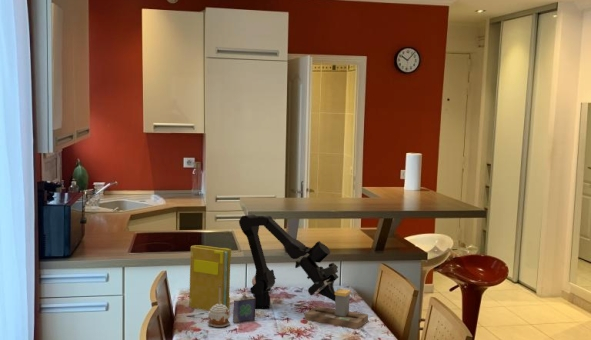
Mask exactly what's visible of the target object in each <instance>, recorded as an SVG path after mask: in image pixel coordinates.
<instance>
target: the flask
mask: <svg viewBox="0 0 591 340" xmlns="http://www.w3.org/2000/svg"><path fill="white" fill-rule="evenodd" d="M255 305H256V298H255V297H253V296H250V295H249V296H247V295H246V293H242V296H241V297H240V298H235V299H233V307H232V308H233V312H232V313H233V315H232V316H233V317H232V323H234V324H241V323H247V322H254V321H255V319H256V309H255Z"/></svg>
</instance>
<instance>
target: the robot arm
mask: <svg viewBox="0 0 591 340" xmlns="http://www.w3.org/2000/svg"><path fill="white" fill-rule="evenodd" d="M238 223H239V227H240V229H241V231H242V233H243V234H244V235H245V236H246V238H247V241H248V245H249V250H250V253H251V256H252V260H253V264H254V267H255V275H254V276H255V282H256V284H255V285H254V286H253V285H252V286H251V287H250V288H249V290H250V293H251V294H252V297H255V298H256V305H255V310H257V309H258V310H259V309H261V310H262V309H270V305H271V295H270V291H271V290H272V288H273V287H274V286H275V284H276V279H277V278H276V276H275V273H274V269H271V270H270V268H269V267H268V265H267V261H266V258H265V254H264V251H263V247H262V244H261V239H260V236H259V232H260V231H259V229H260V227H261V226H262V227H264V228H265V229H266V230H268V232H270V234H272V235H273V237H275V239H277V241H278V242H280V243H281V244H282V246H283V247H284V250H285V252H286V253H287V254H288V256H289V258H290V259H293V260H296V261H295V269H297V268H300V267H301V269H302V270H303V271H304V273H305V274H306V275H307V276H306V279H308V280H309V279H310V280H311V281H312V283H313V284H312V285H311V286H310V287H309V288H308V289H307V292H308V294H309V295H310V296H311V297H312V296H314V295H315V293H316V292H317V291H318V292H317V294H318V295H321V296H324V297H325V298H328V299H329V300H332V301H333V302H335V296H336V295H335V291H336V290H335V289H334V288H335V287H334V283H335V281H336V280H337V279H338V278H339V276H338V274H337V273H339V271H338V268H339V267H338V266H337V264H335V263H334V262H331V263H329V264H328V267H323V266H319V264H317V263H322V262H323V261H324V260H325V259H326V258H327V257H328V256H329V255H331V251H330V248H329V247H328V246H327V245H325V244H324V243H323V242H321V241H320V240H318V241H317V242H316V243H315V244H314V245H313V246H312V247H309V246H306V245H305V244H304V243H303V242H301V241H300V240H298V239H296V238H294V237H292V236H291V235H290V234H289V233H288V232H287V231H286V230H285V229H284V228H282V226H281V225H280V224H278V222H276V221H275V220H274V218H273V217H272V216H271V215H256V214H253V213H250V214H246V215H242V216H241V217H240V218H239V220H238ZM297 259H299V260H297Z"/></svg>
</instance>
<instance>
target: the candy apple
mask: <svg viewBox="0 0 591 340" xmlns="http://www.w3.org/2000/svg"><path fill="white" fill-rule="evenodd" d="M220 300H221V286H219V304H216V305H215V306H213V307H212V308H211V309H210V311H208V314H207V315H208V317H207V319H209V321H207V323H208V326H211V327H216V328H224V327H226V326H229V325H230V324H231V323H230V320H229V319H230V317H231V313H230V312H231V311H230V310H228V308H227V307H226V306H225V305H222V304H220Z"/></svg>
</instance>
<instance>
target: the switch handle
mask: <svg viewBox="0 0 591 340" xmlns="http://www.w3.org/2000/svg"><path fill="white" fill-rule="evenodd" d="M334 291H335V295H336V296H335V301H334V303H335V304H334V309H335V315H337V316H343V317H346V315H347V314H349V312H350V295H351V294H352V293H351V290H349V289H343V288H339V289H337V290H334Z"/></svg>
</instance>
